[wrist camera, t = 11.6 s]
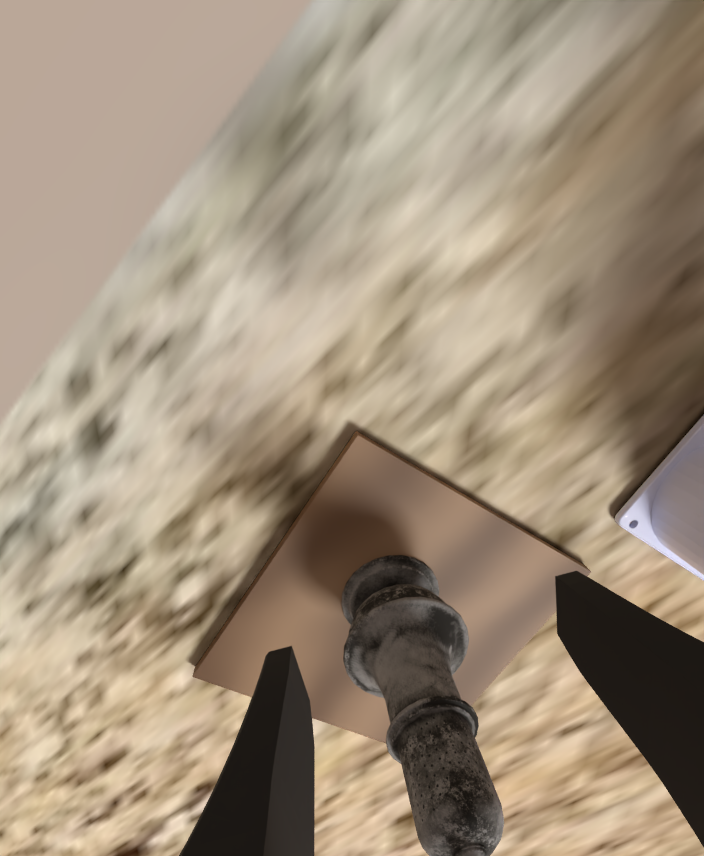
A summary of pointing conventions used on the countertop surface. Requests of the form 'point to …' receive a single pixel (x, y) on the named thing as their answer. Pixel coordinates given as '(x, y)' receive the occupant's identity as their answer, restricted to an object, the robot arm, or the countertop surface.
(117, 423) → the countertop surface
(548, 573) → the walnut board
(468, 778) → the dark grey turned piece
